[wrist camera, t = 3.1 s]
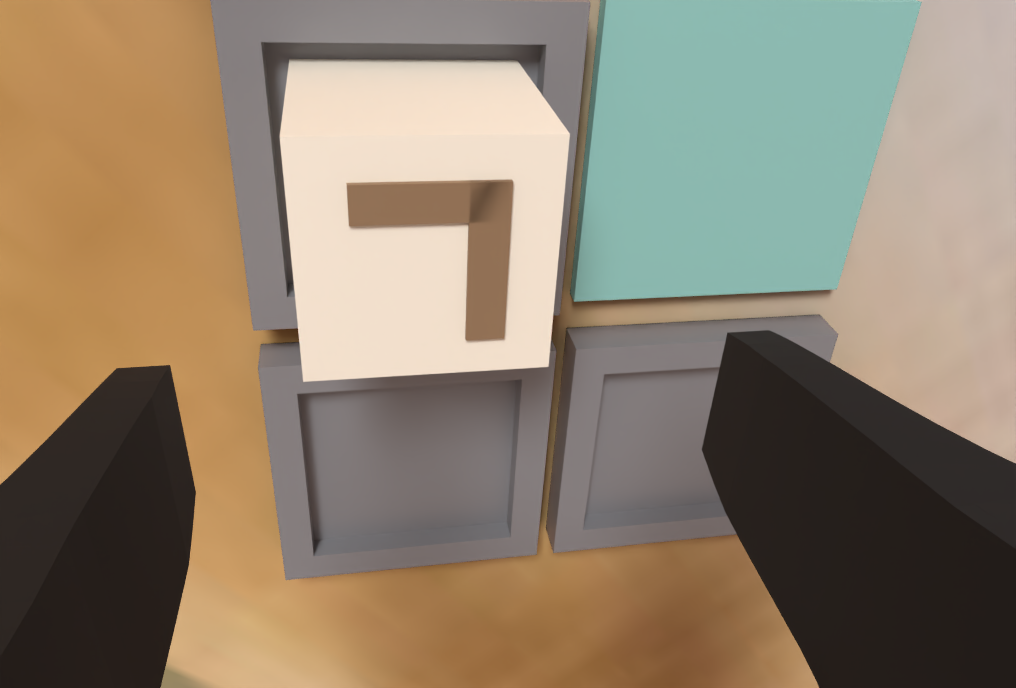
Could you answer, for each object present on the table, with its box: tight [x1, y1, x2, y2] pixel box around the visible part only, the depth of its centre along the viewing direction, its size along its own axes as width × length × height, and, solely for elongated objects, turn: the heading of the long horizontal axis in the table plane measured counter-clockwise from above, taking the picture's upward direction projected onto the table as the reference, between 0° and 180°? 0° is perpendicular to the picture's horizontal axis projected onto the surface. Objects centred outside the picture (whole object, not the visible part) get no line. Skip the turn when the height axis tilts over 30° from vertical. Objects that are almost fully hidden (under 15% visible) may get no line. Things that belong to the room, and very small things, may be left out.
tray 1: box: [210, 0, 590, 330], centre depth 18 cm, size 7×7×1 cm
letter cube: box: [280, 59, 570, 382], centre depth 16 cm, size 4×4×5 cm
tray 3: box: [546, 315, 838, 553], centre depth 24 cm, size 7×7×1 cm
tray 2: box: [258, 339, 556, 580], centre depth 22 cm, size 7×7×1 cm
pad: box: [570, 0, 922, 302], centre depth 20 cm, size 7×7×1 cm
